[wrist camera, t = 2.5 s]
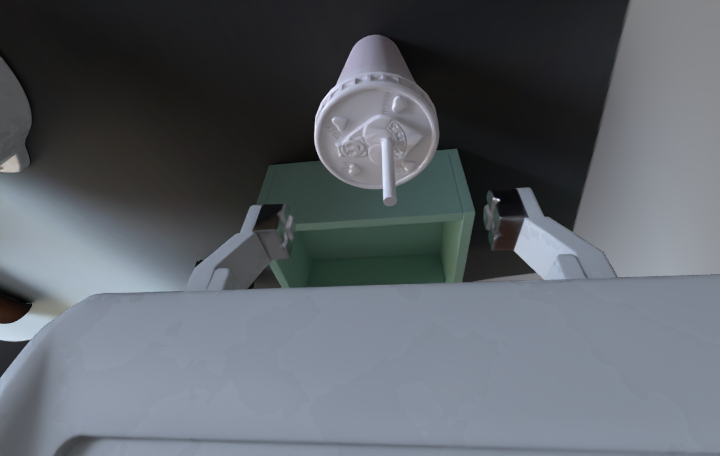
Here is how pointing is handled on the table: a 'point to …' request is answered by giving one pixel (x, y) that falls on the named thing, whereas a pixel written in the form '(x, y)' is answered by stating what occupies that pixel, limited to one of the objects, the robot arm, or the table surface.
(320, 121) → the smoothie
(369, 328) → the robot arm
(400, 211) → the green open storage box
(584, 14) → the table surface
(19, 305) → the sunglasses case
